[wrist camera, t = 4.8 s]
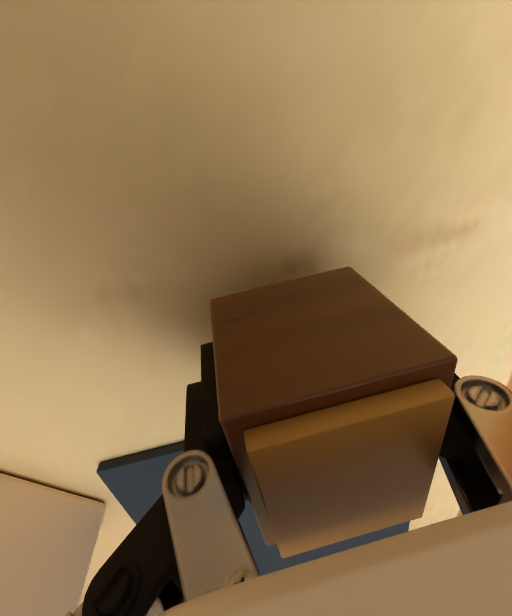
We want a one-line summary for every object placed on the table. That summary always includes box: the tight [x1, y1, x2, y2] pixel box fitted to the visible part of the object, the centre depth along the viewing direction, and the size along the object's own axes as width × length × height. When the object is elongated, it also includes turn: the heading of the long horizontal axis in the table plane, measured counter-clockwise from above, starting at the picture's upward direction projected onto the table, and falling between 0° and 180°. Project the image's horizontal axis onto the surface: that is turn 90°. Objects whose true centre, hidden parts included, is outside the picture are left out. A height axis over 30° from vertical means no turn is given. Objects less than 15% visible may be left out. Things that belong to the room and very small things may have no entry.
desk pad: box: [97, 442, 410, 576], centre depth 22 cm, size 20×20×1 cm
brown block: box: [210, 267, 457, 558], centre depth 9 cm, size 6×5×6 cm
